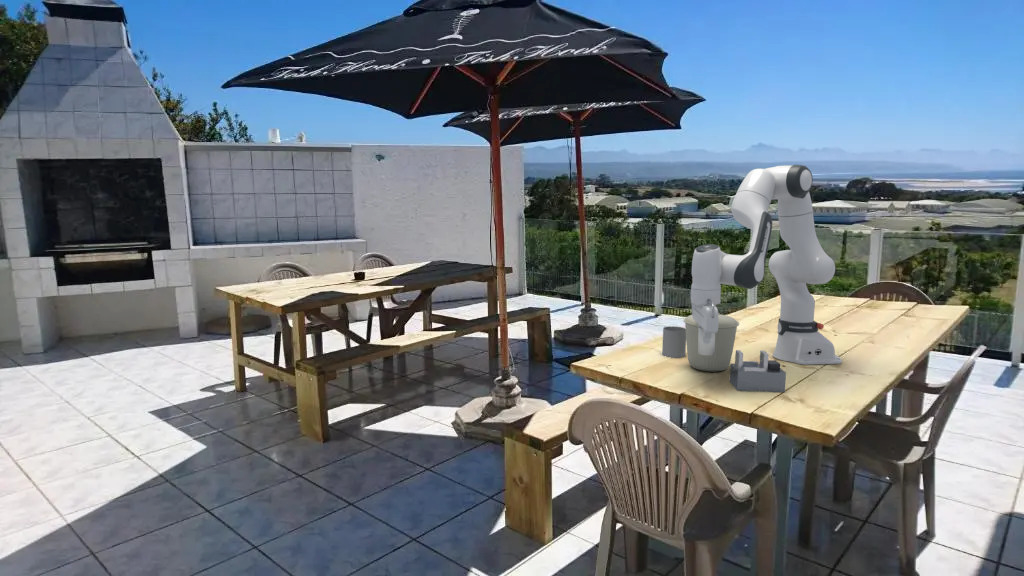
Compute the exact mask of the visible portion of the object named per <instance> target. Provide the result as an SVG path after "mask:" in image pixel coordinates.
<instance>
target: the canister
mask: <svg viewBox="0 0 1024 576" xmlns="http://www.w3.org/2000/svg"><path fill="white" fill-rule="evenodd" d="M682 321H683V322H684V323H685V325H684V328H685V329H686V352H687V361H688V364H689V365H690V366H691V367H692V368H693V369H696V370H698V371H702V372H703V371H704V372H709V373H710V372H713V373H714V372H715V373H716V372H722V371H726V370H727V369H728V368H729V367H730V363H731V362H732V356H733V352H734V346H735V341H736V335H737V329H738V326H739V325H740V322H739V321H738V320H736V319H735V318H734V317H731V316H729V315H726V314H719V313H718V332H717V333H715V354H714V355H701V354H698V332H699V330H698V324H697V323H696V322H695V321H694V320H693V316H692V314H690V315H688V316H685V317H684V318H683V319H682Z"/></svg>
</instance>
